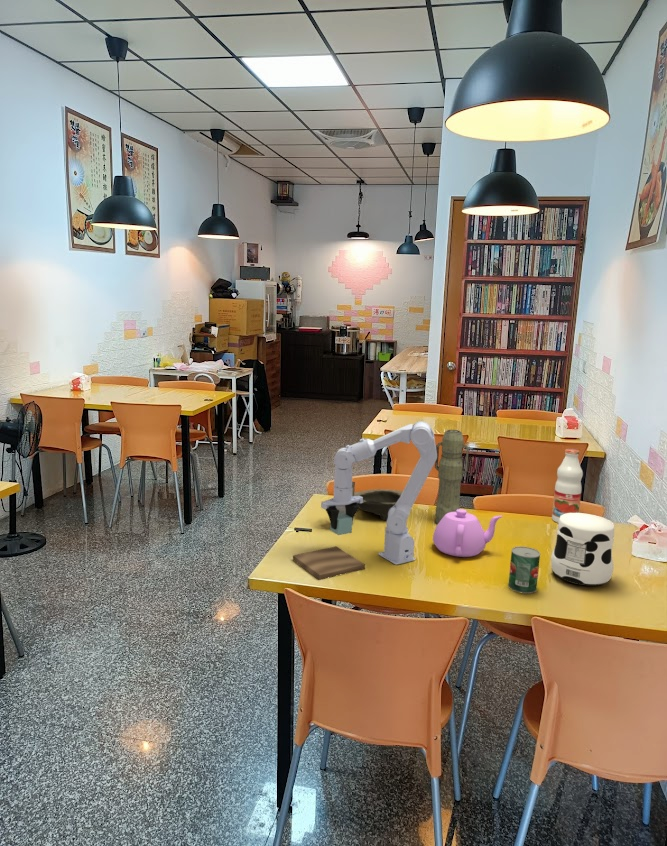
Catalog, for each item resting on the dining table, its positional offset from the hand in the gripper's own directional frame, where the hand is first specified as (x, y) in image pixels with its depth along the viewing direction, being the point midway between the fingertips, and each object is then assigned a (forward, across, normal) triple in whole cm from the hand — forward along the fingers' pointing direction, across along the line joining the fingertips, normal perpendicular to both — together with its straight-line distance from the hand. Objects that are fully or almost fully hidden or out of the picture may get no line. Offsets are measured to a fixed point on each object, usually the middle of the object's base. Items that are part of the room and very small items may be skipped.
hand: (341, 527), depth 197 cm
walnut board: (+8, +9, +7) cm, 14 cm away
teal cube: (+2, 0, 0) cm, 2 cm away
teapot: (+9, -38, +18) cm, 43 cm away
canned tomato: (+9, -33, +46) cm, 57 cm away
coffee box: (+9, -13, -19) cm, 24 cm away
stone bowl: (+9, -34, -26) cm, 44 cm away
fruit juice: (+9, -93, +14) cm, 95 cm away
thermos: (+9, -50, -5) cm, 51 cm away
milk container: (+9, -54, +50) cm, 74 cm away
